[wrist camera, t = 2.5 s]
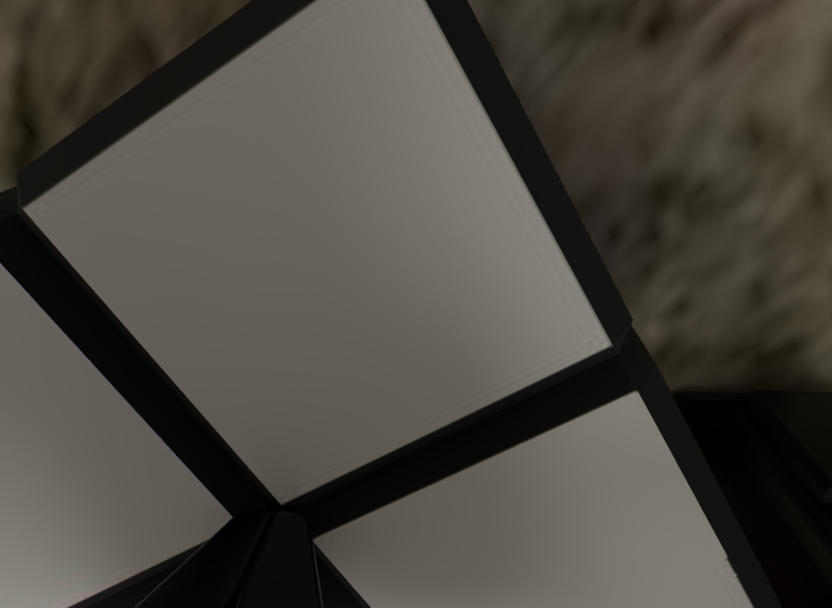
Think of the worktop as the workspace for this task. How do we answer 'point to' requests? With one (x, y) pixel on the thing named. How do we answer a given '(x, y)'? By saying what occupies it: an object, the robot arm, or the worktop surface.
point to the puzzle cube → (337, 339)
